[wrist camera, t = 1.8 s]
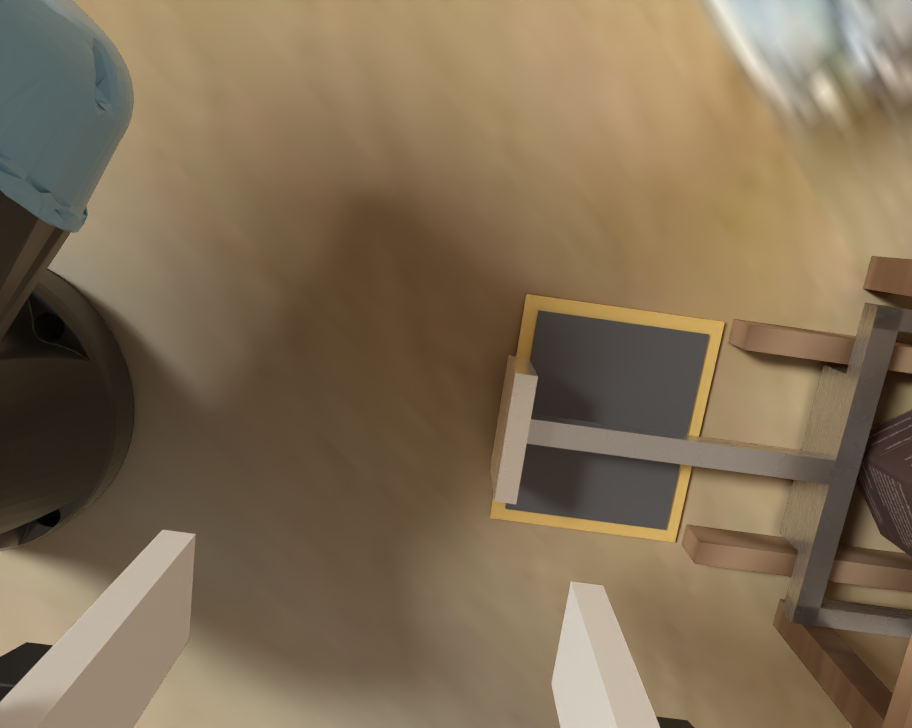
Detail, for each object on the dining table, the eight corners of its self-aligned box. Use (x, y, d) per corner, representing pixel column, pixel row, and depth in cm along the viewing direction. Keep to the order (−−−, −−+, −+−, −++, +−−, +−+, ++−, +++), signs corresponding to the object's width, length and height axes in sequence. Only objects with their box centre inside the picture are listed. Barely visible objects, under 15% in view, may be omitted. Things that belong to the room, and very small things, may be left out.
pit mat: (489, 516, 36) (490, 519, 36) (526, 293, 33) (526, 294, 33) (673, 540, 36) (675, 543, 36) (723, 321, 34) (726, 322, 33)
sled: (475, 552, 36) (478, 600, 31) (523, 252, 33) (534, 257, 28) (1004, 621, 37) (1080, 677, 32) (1103, 335, 34) (1203, 353, 29)
